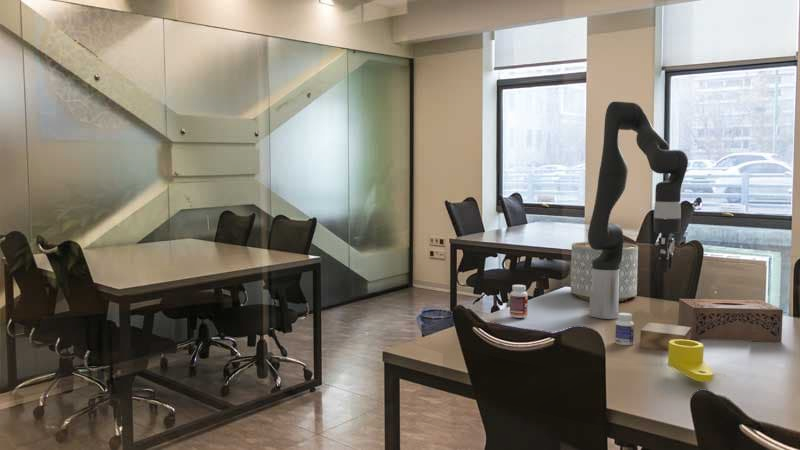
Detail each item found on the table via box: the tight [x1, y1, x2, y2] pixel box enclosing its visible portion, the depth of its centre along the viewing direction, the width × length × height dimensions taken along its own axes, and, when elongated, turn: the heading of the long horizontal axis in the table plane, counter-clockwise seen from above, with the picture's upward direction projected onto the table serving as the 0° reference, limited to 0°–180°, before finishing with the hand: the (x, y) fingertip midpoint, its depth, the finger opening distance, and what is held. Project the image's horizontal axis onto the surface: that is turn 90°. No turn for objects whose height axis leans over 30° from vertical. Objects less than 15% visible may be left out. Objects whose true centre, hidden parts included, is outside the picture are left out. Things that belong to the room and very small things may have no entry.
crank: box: [667, 339, 714, 383], centre depth 169 cm, size 18×8×6 cm, turn 176°
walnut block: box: [639, 322, 692, 352], centre depth 194 cm, size 12×12×5 cm
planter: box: [570, 241, 639, 302], centre depth 265 cm, size 26×26×22 cm
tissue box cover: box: [677, 298, 784, 343], centre depth 207 cm, size 26×14×10 cm, turn 84°
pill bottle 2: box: [614, 312, 635, 346], centre depth 196 cm, size 5×5×9 cm
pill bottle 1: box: [509, 284, 529, 319], centre depth 234 cm, size 6×6×11 cm
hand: (665, 270), depth 199 cm, fingers open, 8 cm apart
